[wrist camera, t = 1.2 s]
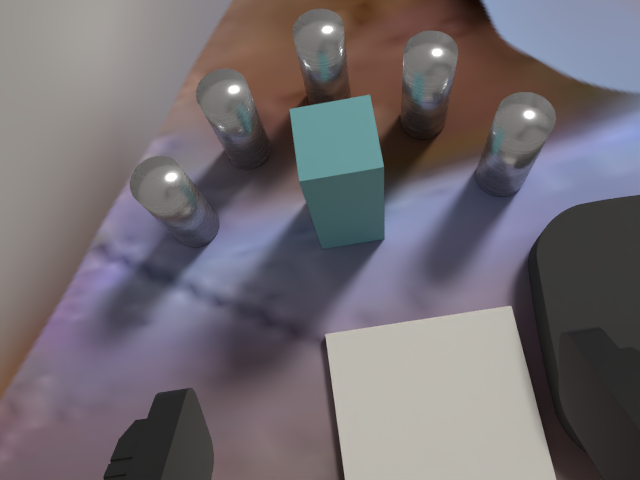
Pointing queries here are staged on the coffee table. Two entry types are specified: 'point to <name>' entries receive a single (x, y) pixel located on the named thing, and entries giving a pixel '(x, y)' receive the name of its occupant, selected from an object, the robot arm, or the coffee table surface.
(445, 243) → the coffee table surface
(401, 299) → the coffee table surface
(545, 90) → the coffee table surface
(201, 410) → the robot arm
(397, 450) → the tile
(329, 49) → the posts
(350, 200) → the teal block
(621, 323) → the media streaming box
